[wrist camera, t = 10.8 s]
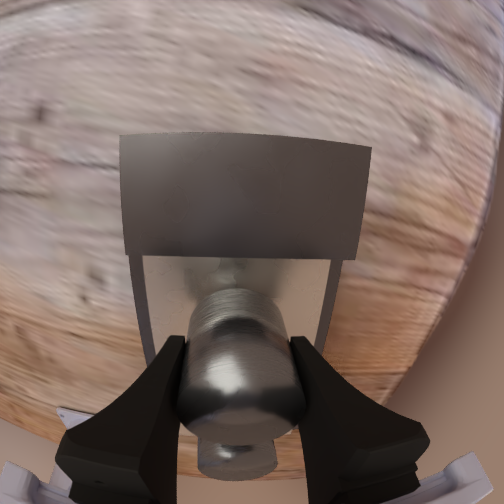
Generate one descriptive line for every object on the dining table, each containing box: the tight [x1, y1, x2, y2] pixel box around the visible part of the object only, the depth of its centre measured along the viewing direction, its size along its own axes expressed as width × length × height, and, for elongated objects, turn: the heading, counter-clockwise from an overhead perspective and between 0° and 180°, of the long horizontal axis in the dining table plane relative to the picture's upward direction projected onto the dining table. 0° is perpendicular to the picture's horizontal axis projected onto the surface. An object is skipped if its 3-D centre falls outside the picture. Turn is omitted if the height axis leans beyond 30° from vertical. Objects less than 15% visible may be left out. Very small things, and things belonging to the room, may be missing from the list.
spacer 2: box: [198, 437, 278, 481], centre depth 15 cm, size 4×4×5 cm
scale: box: [119, 132, 372, 436], centre depth 15 cm, size 21×11×6 cm, turn 177°
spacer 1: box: [176, 288, 306, 446], centre depth 11 cm, size 4×4×5 cm
